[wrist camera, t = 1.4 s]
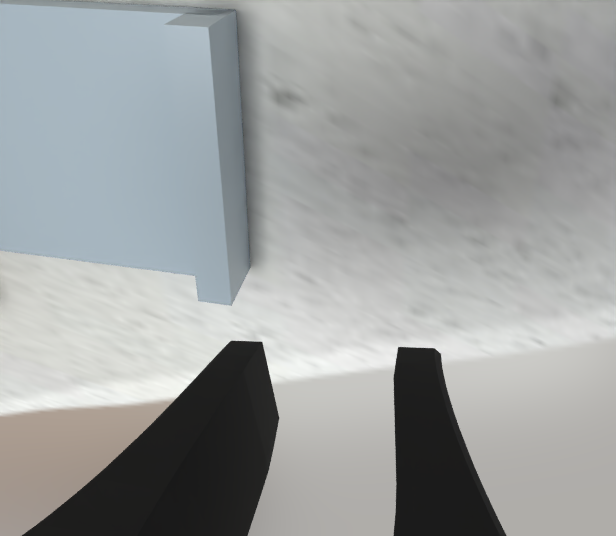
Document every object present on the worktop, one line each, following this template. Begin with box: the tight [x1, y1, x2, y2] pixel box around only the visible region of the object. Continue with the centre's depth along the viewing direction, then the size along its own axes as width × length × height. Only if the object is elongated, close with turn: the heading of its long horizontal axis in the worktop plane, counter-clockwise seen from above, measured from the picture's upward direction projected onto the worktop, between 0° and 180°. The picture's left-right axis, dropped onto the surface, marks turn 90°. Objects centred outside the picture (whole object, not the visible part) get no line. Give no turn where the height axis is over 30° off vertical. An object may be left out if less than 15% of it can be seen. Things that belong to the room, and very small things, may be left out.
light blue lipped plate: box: [0, 0, 250, 306], centre depth 18 cm, size 11×9×3 cm
